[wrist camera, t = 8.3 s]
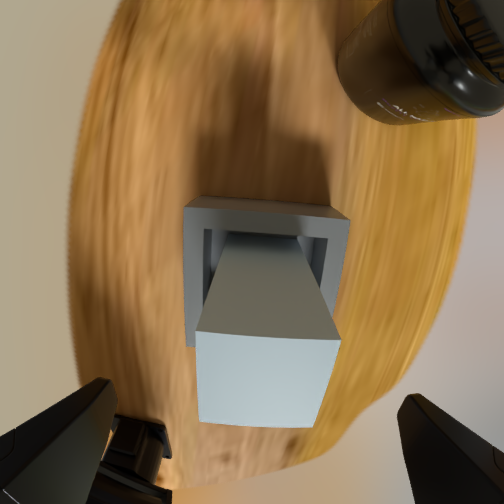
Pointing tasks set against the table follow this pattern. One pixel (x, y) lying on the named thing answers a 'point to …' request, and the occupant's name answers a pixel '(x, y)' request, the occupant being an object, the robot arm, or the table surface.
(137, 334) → the table surface
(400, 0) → the supplement bottle
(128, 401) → the table surface
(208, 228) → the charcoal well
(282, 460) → the table surface
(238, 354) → the blue-grey block
